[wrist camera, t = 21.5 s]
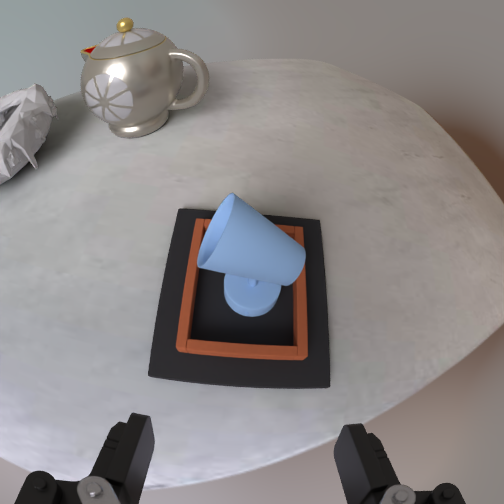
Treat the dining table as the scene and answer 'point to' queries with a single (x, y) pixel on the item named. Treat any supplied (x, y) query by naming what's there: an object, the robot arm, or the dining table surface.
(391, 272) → the dining table surface
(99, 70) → the teapot
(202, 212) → the pad
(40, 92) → the bowl
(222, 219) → the spotlight
